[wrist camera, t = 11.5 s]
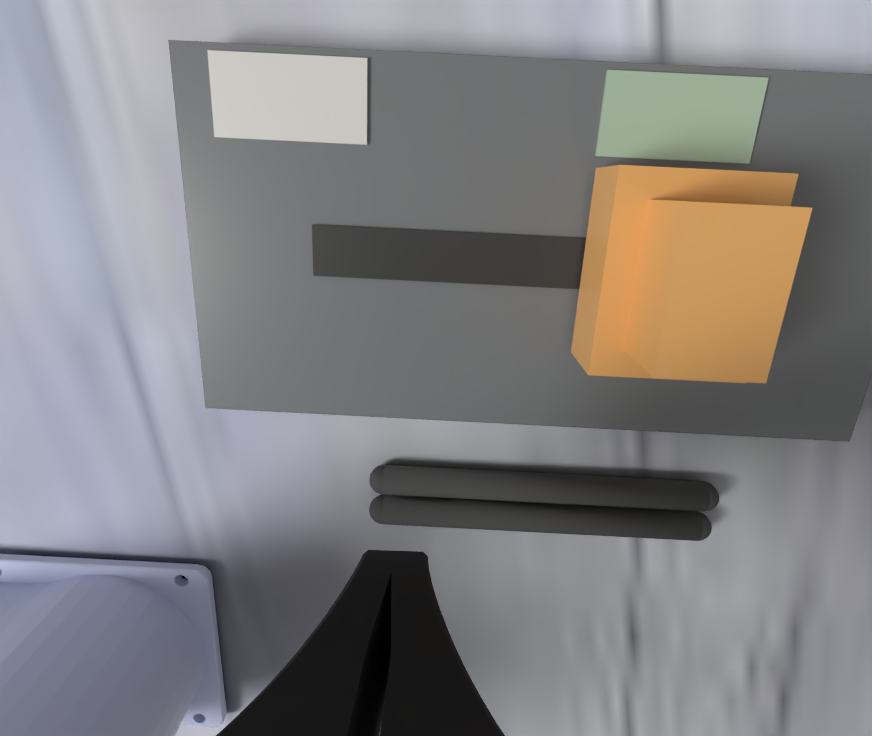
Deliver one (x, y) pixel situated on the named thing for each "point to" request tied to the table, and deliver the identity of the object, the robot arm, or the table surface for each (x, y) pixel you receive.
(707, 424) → the breaker panel
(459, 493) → the cord bundle
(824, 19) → the table surface
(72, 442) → the table surface
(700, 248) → the breaker toggle
